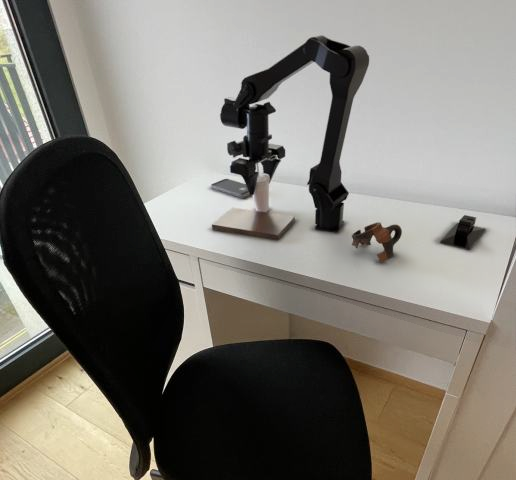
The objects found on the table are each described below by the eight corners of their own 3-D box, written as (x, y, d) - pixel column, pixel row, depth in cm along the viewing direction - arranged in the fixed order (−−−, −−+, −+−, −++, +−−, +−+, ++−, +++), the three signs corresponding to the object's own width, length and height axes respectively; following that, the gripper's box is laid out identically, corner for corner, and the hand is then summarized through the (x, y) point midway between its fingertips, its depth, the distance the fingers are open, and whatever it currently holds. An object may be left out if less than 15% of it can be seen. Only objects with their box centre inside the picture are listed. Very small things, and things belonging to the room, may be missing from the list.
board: (295, 221, 113) (295, 216, 112) (278, 240, 106) (277, 235, 105) (232, 212, 121) (232, 207, 120) (212, 229, 113) (211, 224, 112)
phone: (209, 187, 136) (242, 198, 128) (209, 184, 136) (242, 195, 127) (226, 181, 140) (259, 191, 131) (226, 178, 140) (259, 188, 131)
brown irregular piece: (372, 270, 93) (358, 237, 90) (353, 268, 102) (341, 238, 99) (415, 245, 94) (403, 212, 91) (393, 245, 103) (382, 215, 100)
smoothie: (273, 204, 122) (268, 156, 113) (272, 214, 118) (267, 164, 108) (252, 206, 123) (246, 158, 114) (250, 215, 118) (243, 167, 109)
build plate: (469, 250, 96) (474, 232, 93) (438, 242, 100) (442, 225, 97) (485, 229, 103) (491, 212, 100) (456, 223, 107) (460, 206, 103)
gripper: (253, 119, 115) (255, 174, 126) (211, 135, 104) (217, 195, 115) (286, 124, 110) (285, 181, 121) (245, 142, 99) (248, 204, 110)
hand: (259, 190), depth 117 cm, fingers closed on smoothie, 7 cm apart
